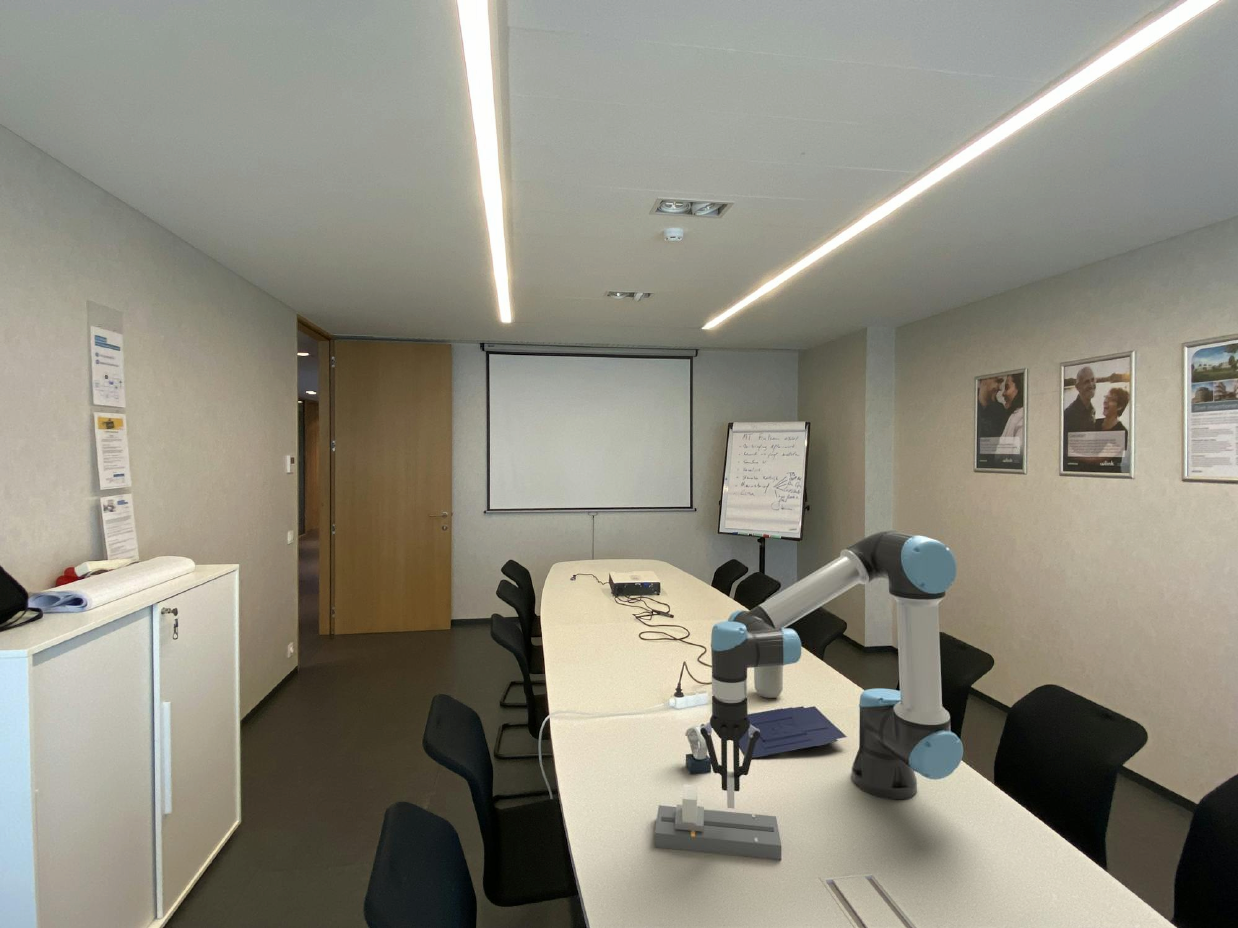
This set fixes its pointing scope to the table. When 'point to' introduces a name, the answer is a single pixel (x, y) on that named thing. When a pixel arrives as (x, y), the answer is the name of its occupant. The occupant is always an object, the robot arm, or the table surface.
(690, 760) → the watch
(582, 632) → the table surface
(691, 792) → the fader tab
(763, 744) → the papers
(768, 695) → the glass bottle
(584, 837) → the table surface
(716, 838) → the console
